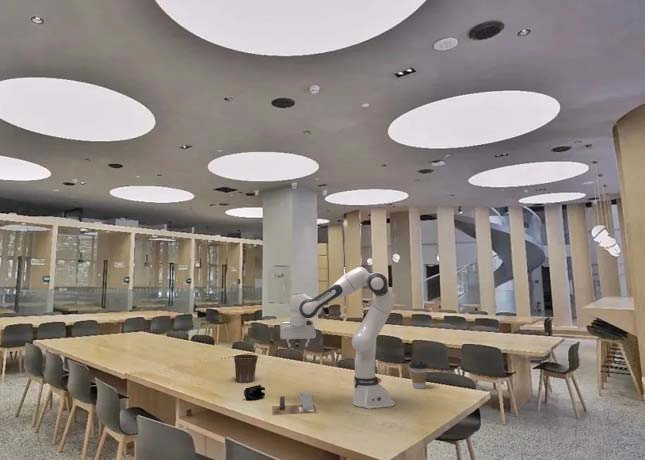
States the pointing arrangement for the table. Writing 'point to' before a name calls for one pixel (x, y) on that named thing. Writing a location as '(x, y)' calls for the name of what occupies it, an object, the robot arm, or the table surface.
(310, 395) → the tall grey pillar
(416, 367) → the coffee cup
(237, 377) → the plant pot
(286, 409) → the walnut board
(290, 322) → the robot arm
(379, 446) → the table surface
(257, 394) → the end cap
